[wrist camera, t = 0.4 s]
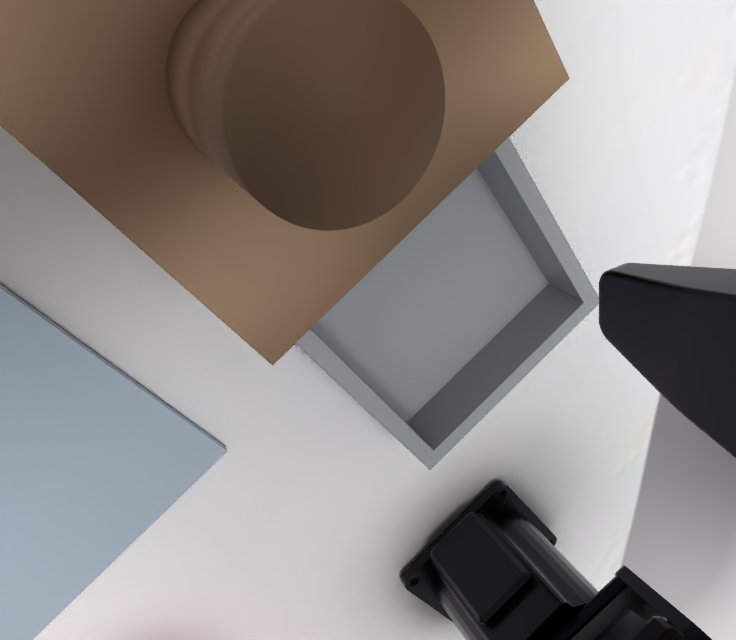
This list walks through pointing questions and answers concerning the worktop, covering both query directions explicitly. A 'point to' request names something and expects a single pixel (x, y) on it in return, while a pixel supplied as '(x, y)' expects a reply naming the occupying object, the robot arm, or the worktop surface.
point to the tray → (456, 310)
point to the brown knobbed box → (269, 130)
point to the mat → (77, 465)
